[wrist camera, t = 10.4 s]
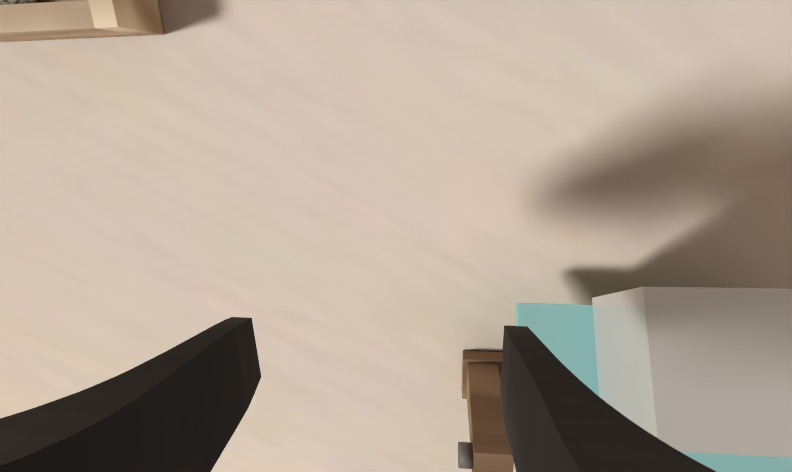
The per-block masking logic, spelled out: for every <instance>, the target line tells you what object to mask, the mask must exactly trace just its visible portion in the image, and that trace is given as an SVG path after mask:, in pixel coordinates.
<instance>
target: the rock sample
mask: <svg viewBox="0 0 792 472" xmlns="http://www.w3.org/2000/svg"><path fill="white" fill-rule="evenodd" d="M36 2H37V0H0V5H8V4H25V3H36Z"/></svg>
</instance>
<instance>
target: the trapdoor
mask: <svg viewBox="0 0 792 472" xmlns="http://www.w3.org/2000/svg"><path fill="white" fill-rule="evenodd" d="M516 326H528V328H529V329H530V330H531V331H532V332H533V333H534V334H535V335H536V336H537V337H538V338H539V339H540V340H541V341H542V343H543V344H544V345H545V346H546V347H547V348H548V349H549V350H550V351H551V352H552V353H553V354H554V355H555V356H556V357H557V358H558V360H559V361H560V362H561V363H562V364H563V365H564V366H566V367H567V368H568V369H569V370H570V371H571V372H572V373H573V374H574V375H575V376H576V377H577V378H578V379H579V380H580V381H582V382H583V383H584V384H585V385H586V386H587V387H588V388H590V389H591V390H592V391H593V392H594V393H595V394H597V395H598V396H599V388H598V374H597V361H596V347H595V333H594V319H593V305H571V304H531V303H516ZM681 453H683V454H685V455H687V456H688V457H690V458H692V459H694V460H696V461H697V462H699V463H701V464H703V465H705V466H707V467H709V468H711V469H712V470H714V471H716V472H792V457H772V456H753V455H733V454H714V453H695V452H681Z"/></svg>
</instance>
